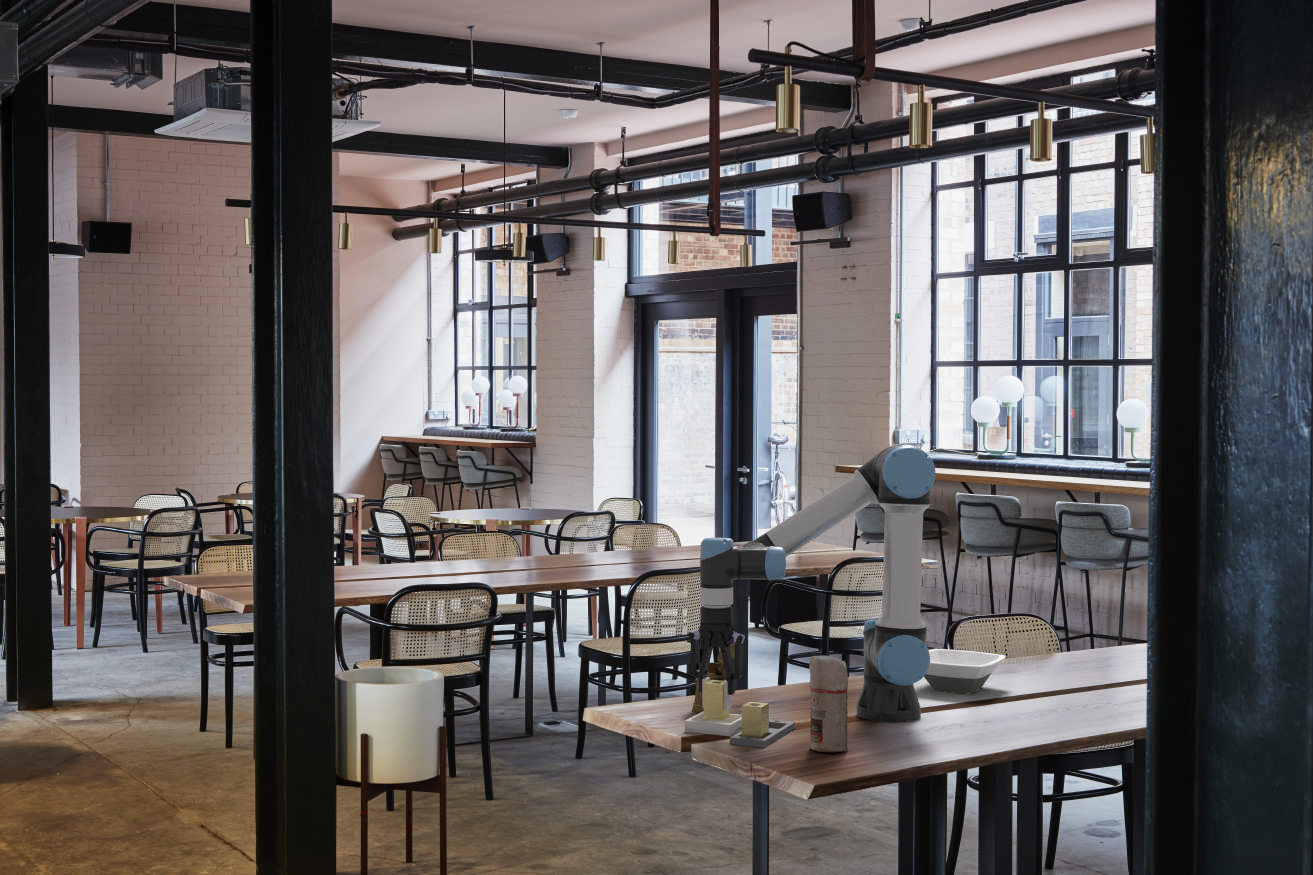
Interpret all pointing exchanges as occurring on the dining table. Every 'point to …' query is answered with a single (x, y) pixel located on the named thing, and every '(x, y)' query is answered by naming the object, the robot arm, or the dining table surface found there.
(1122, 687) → the dining table surface
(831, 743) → the spray can
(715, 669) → the wooden mug
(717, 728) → the tray
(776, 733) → the gray rectangular tray
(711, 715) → the brass nut
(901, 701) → the robot arm
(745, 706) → the brass nut
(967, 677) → the bowl
